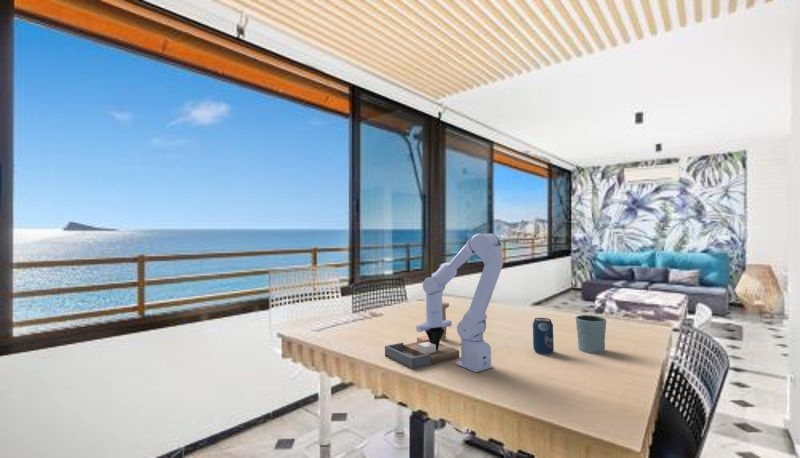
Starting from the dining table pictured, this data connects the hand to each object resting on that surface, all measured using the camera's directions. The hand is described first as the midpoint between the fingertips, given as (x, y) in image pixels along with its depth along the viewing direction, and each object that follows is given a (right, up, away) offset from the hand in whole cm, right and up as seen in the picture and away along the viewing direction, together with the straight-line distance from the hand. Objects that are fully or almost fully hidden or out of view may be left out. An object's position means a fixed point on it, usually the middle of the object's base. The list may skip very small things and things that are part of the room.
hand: (434, 349), depth 129 cm
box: (-10, -3, -3) cm, 11 cm away
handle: (+5, -4, +22) cm, 23 cm away
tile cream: (-3, 0, -2) cm, 4 cm away
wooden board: (-1, -3, +3) cm, 4 cm away
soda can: (+40, -3, +4) cm, 40 cm away
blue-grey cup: (+59, -2, +5) cm, 59 cm away
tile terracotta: (-3, 0, +6) cm, 7 cm away
